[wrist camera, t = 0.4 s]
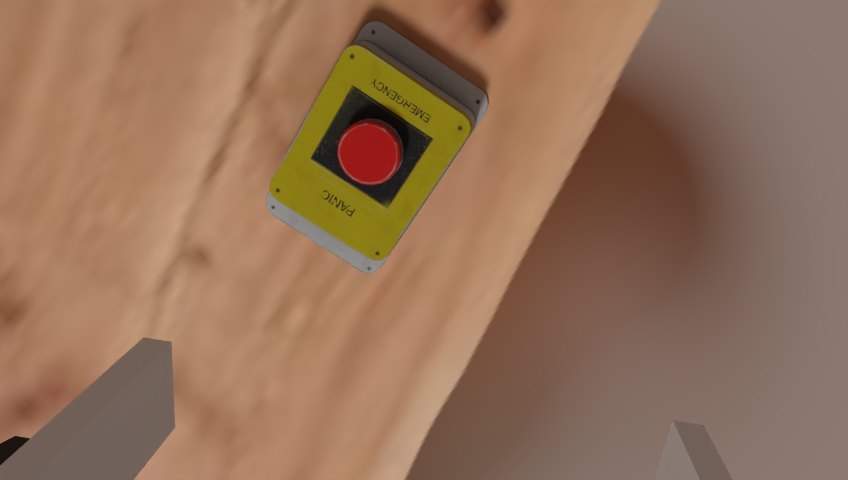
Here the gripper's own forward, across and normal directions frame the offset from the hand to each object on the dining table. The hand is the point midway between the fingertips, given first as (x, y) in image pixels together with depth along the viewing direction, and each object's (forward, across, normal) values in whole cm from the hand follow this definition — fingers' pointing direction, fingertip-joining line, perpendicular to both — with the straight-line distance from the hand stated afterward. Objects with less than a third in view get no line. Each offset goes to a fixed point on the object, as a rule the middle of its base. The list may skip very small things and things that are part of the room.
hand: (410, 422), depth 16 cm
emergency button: (+26, -6, +1) cm, 27 cm away
